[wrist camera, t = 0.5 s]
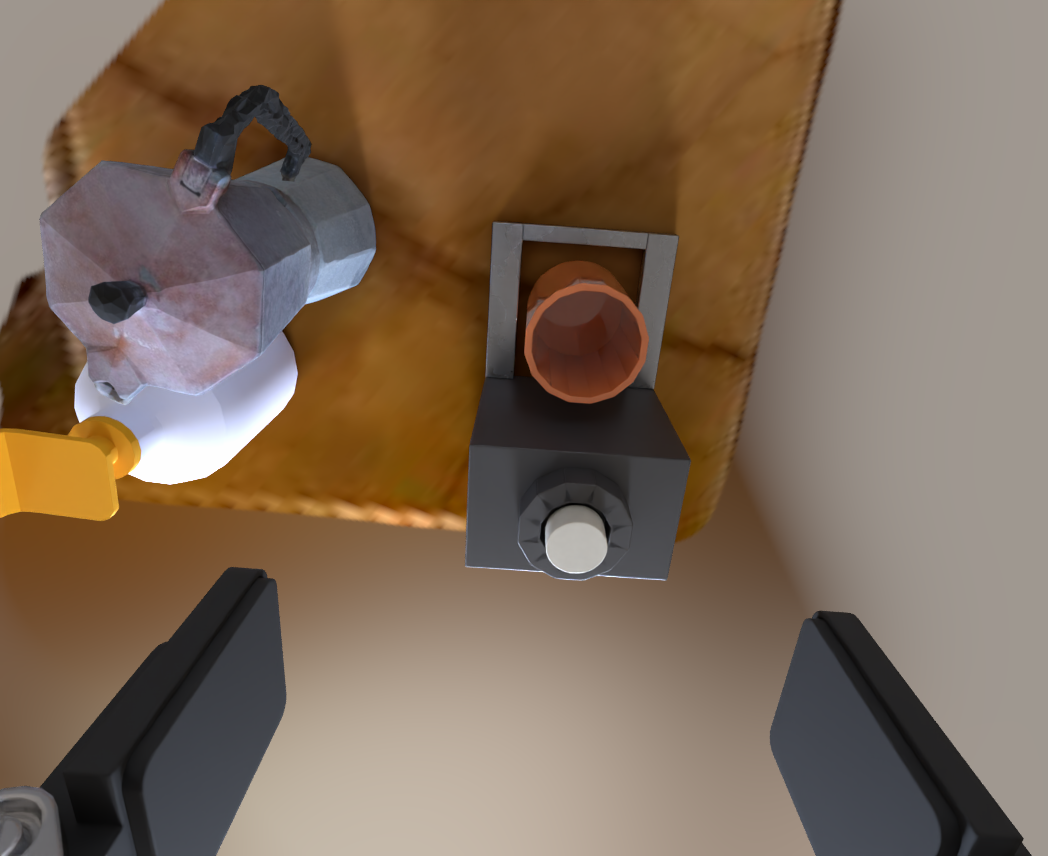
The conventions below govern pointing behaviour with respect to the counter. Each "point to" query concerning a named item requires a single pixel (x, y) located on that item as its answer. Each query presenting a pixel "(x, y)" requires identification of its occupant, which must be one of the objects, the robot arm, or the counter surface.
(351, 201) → the moka pot
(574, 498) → the grey box with dial
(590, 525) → the brew button
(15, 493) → the soap bottle
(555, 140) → the counter surface
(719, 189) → the counter surface
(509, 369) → the cup bay
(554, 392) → the cup
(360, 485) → the counter surface
